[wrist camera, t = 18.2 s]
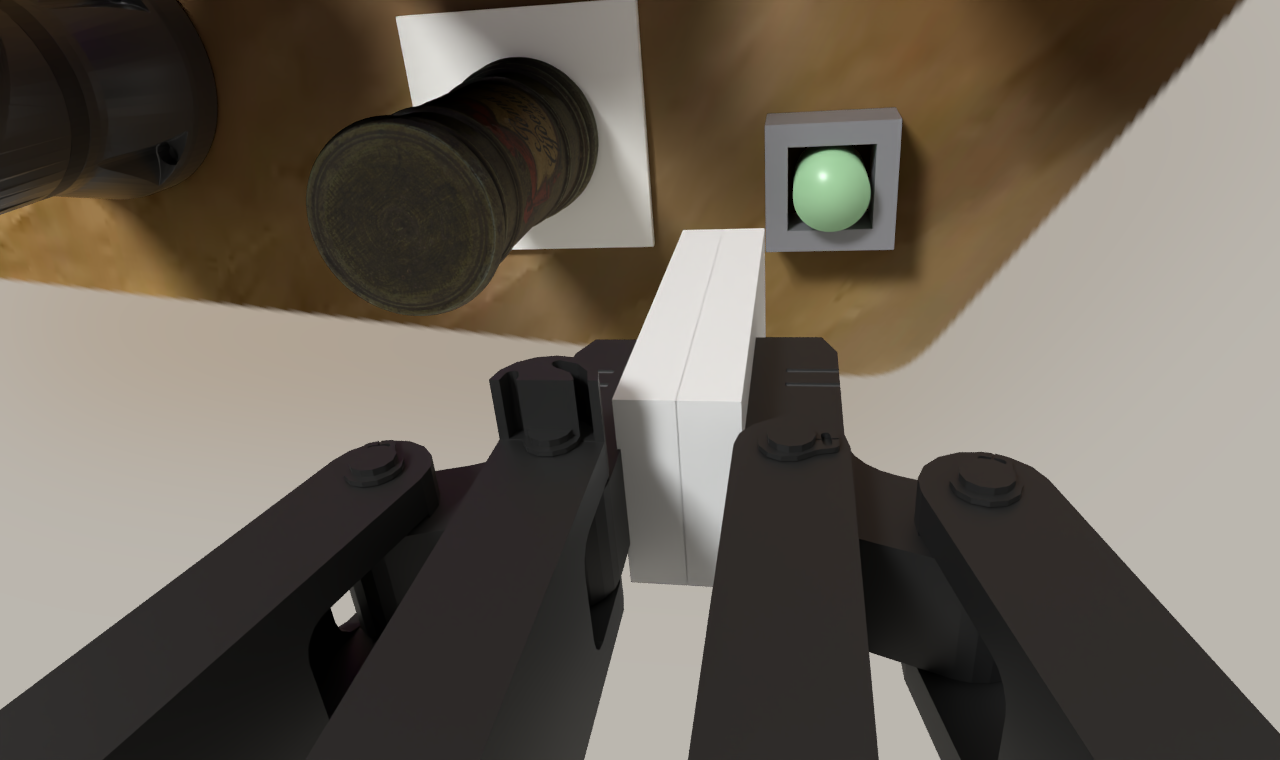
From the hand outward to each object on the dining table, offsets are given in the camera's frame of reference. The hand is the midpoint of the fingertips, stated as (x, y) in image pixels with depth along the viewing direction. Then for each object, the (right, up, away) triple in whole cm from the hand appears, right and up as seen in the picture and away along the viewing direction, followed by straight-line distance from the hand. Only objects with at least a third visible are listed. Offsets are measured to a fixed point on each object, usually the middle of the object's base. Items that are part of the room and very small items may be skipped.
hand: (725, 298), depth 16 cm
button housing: (+9, +10, +32) cm, 35 cm away
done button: (+9, +11, +33) cm, 36 cm away
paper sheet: (-8, +13, +34) cm, 37 cm away
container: (-8, +13, +34) cm, 37 cm away
